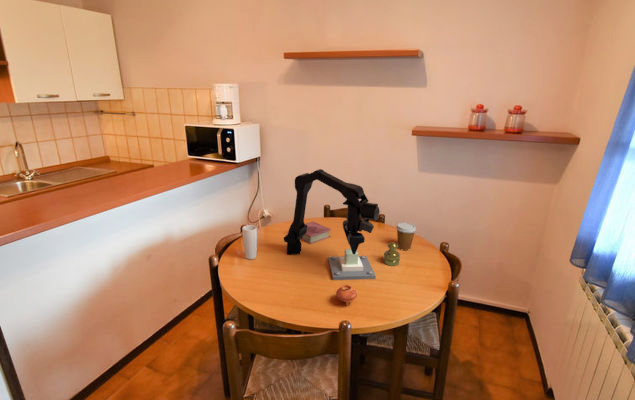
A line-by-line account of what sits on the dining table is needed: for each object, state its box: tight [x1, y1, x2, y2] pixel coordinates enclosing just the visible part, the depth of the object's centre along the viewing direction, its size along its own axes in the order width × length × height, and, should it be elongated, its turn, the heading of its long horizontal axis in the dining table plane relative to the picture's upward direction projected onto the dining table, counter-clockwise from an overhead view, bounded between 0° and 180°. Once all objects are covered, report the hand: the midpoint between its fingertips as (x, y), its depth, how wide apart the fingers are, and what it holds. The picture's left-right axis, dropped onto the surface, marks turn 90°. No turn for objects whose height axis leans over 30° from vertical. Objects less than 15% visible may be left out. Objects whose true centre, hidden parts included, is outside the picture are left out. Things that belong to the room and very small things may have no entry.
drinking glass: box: [241, 224, 258, 260], centre depth 160 cm, size 7×7×15 cm
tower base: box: [327, 255, 377, 281], centre depth 153 cm, size 18×18×4 cm
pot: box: [335, 284, 358, 307], centre depth 130 cm, size 8×8×7 cm
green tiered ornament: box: [383, 241, 401, 267], centre depth 159 cm, size 7×7×10 cm
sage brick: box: [344, 248, 359, 265], centre depth 152 cm, size 5×5×5 cm
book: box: [300, 221, 332, 245], centre depth 186 cm, size 14×15×5 cm
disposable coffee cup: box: [395, 222, 417, 251], centre depth 174 cm, size 10×10×12 cm
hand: (352, 249), depth 151 cm, fingers open, 9 cm apart
